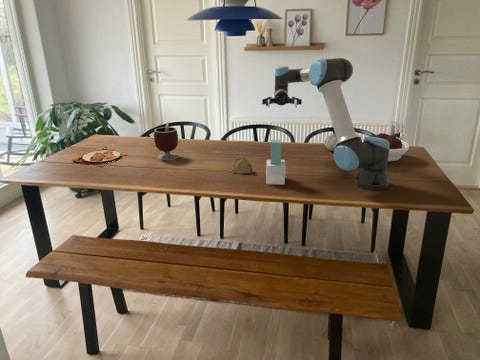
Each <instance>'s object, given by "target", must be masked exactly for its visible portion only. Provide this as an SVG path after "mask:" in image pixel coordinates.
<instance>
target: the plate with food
mask: <svg viewBox="0 0 480 360" xmlns="http://www.w3.org/2000/svg"><path fill="white" fill-rule="evenodd" d="M103 147H104V148H102V149H101V150H94V151H91V152H87V153H84V154H83V155H81V156H79V158H77V159H72V160H71V161H72V162H76V163H80V164H84V165H90V164H94V165H96V163H103V164H106V162H111V161H114V160H116V159H117V160H119V159H121V158H123V156H121V155H122V153H121V152H119V151H117V150H115V149H114V148H112V149H108V147H107V146H104V145H103ZM124 155H125V156H127V153H126V154H124ZM118 158H119V159H118ZM114 162H115V161H114ZM89 163H90V164H89ZM111 163H112V162H111ZM99 166H100V165H99ZM102 167H104V165H101V166H100V167H99V168H102Z"/></svg>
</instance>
